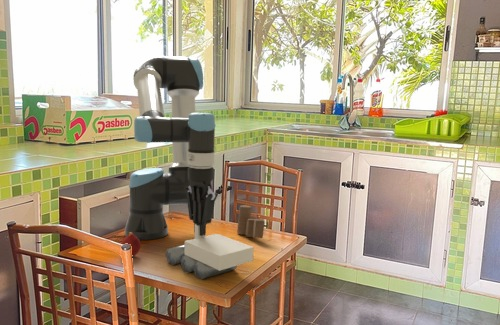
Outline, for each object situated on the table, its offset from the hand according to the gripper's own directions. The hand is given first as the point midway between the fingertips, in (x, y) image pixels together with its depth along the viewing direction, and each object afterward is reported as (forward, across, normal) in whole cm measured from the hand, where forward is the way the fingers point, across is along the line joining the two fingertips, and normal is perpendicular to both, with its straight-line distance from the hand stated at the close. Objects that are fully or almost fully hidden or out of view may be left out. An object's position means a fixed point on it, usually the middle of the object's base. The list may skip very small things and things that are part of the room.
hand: (199, 245), depth 143 cm
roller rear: (+7, -7, 0) cm, 10 cm away
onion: (+7, -19, -12) cm, 23 cm away
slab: (+1, +9, 0) cm, 9 cm away
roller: (+3, +10, 0) cm, 11 cm away
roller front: (+7, +1, 0) cm, 7 cm away
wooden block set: (+7, -13, +33) cm, 36 cm away
